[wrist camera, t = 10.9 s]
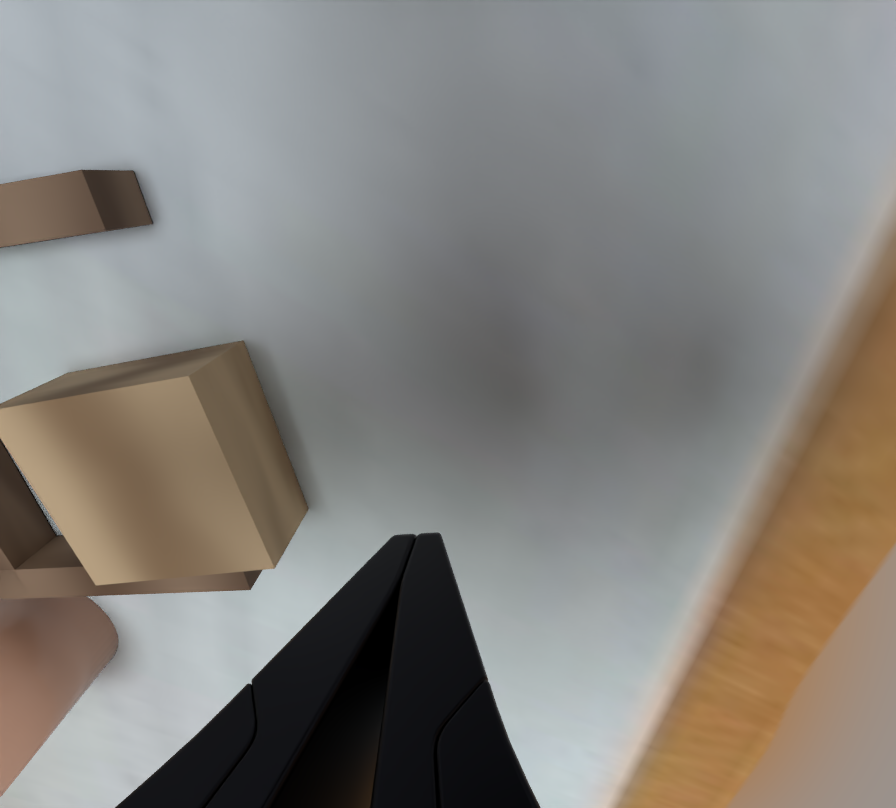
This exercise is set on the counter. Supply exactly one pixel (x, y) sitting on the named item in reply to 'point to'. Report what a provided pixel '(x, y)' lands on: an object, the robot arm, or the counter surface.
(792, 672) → the counter surface
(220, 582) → the walnut bay
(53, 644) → the tan round cylinder
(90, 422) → the oak block
